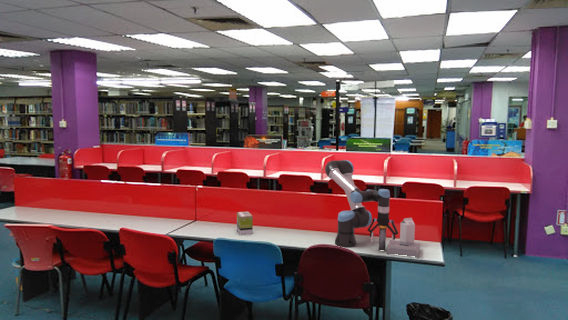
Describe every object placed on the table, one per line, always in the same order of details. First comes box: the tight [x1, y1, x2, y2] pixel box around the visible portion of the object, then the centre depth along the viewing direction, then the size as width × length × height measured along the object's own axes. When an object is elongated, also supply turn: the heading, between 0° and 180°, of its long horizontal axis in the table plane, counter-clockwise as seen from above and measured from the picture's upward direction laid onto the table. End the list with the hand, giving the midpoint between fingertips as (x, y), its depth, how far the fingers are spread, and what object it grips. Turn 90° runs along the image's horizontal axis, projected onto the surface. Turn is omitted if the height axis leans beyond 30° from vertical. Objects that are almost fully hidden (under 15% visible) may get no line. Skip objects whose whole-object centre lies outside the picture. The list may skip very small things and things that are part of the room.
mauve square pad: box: [386, 239, 421, 258], centre depth 262 cm, size 20×20×6 cm
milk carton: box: [399, 217, 416, 243], centre depth 279 cm, size 7×7×19 cm
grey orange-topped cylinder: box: [377, 225, 389, 251], centre depth 264 cm, size 6×6×18 cm
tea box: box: [236, 211, 254, 236], centre depth 304 cm, size 15×10×15 cm
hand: (382, 242), depth 264 cm, fingers open, 13 cm apart
